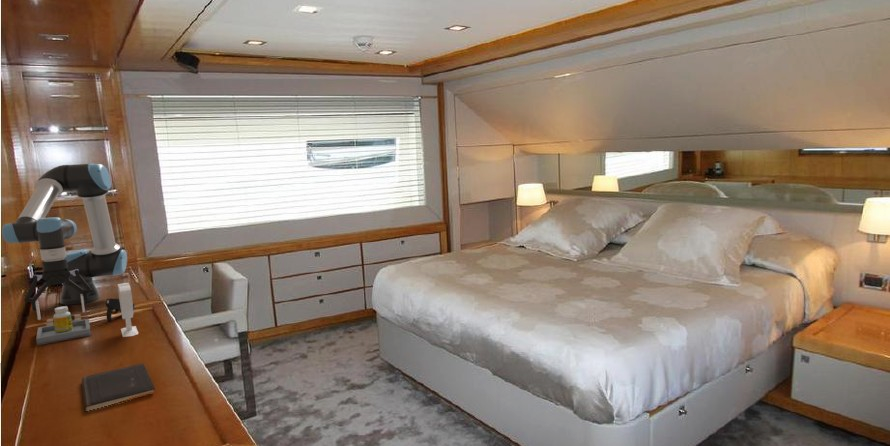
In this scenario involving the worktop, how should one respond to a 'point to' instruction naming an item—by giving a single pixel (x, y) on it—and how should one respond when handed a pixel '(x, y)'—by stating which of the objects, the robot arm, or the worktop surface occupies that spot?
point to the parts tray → (50, 336)
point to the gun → (113, 307)
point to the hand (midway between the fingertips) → (62, 315)
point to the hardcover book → (115, 386)
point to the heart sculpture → (126, 309)
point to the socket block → (73, 317)
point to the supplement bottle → (62, 320)
